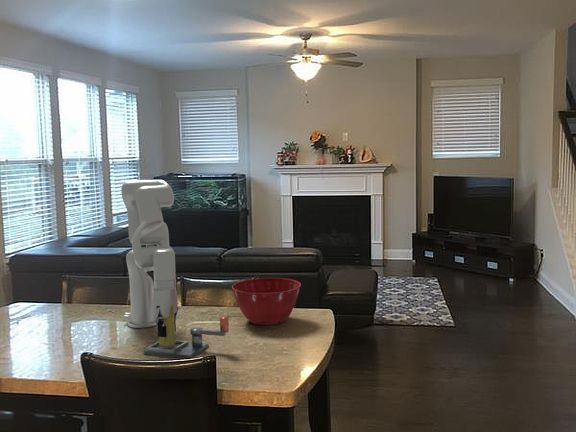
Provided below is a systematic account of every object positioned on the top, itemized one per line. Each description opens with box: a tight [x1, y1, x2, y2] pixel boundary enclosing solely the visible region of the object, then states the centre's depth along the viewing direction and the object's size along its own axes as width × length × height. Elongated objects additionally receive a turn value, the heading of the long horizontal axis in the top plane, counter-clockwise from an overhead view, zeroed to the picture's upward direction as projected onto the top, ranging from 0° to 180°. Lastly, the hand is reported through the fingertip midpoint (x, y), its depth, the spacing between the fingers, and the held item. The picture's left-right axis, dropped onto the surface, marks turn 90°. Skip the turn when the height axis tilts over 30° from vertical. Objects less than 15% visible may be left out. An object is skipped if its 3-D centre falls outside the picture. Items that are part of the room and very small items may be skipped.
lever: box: [189, 316, 230, 337], centre depth 213 cm, size 15×4×6 cm, turn 71°
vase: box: [158, 305, 177, 347], centre depth 213 cm, size 6×6×14 cm
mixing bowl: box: [231, 277, 302, 326], centre depth 250 cm, size 28×28×15 cm
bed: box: [143, 334, 210, 359], centre depth 213 cm, size 18×14×5 cm
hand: (167, 333), depth 213 cm, fingers closed on vase, 5 cm apart
